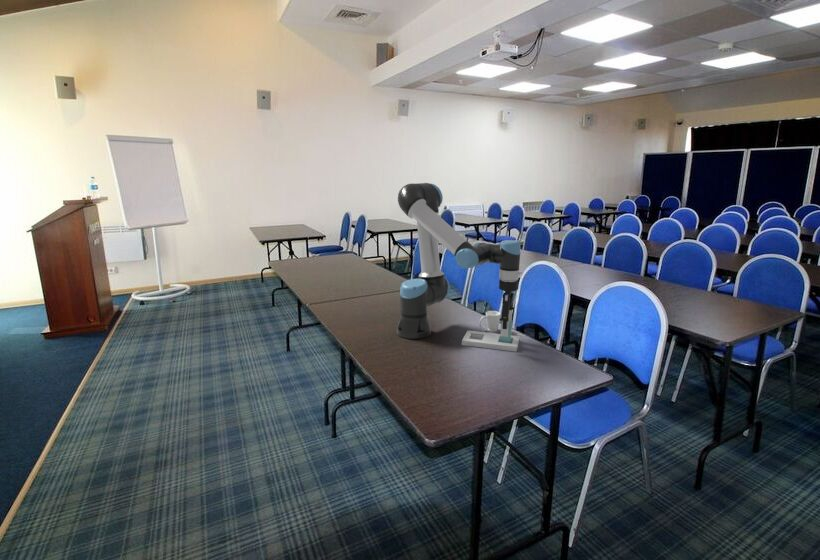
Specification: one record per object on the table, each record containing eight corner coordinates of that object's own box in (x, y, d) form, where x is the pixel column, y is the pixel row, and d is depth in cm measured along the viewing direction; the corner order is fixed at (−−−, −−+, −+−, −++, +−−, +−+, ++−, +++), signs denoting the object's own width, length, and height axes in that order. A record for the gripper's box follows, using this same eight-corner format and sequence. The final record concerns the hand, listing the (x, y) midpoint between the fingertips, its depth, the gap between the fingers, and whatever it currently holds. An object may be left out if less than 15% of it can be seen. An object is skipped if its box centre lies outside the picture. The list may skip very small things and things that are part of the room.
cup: (503, 331, 186) (504, 314, 184) (482, 334, 183) (483, 316, 181) (495, 326, 193) (496, 309, 191) (475, 329, 190) (476, 312, 188)
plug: (499, 345, 171) (501, 318, 168) (501, 342, 174) (502, 315, 172) (509, 347, 170) (511, 319, 167) (510, 343, 173) (512, 316, 170)
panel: (461, 344, 172) (461, 340, 171) (467, 334, 183) (467, 330, 182) (516, 351, 165) (516, 346, 164) (519, 340, 176) (519, 336, 175)
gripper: (515, 288, 153) (512, 342, 158) (521, 273, 176) (518, 321, 181) (495, 286, 155) (492, 340, 160) (502, 272, 178) (500, 319, 183)
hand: (506, 330), depth 171 cm, fingers open, 13 cm apart
